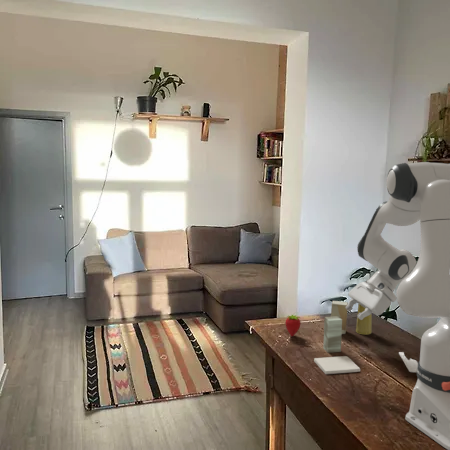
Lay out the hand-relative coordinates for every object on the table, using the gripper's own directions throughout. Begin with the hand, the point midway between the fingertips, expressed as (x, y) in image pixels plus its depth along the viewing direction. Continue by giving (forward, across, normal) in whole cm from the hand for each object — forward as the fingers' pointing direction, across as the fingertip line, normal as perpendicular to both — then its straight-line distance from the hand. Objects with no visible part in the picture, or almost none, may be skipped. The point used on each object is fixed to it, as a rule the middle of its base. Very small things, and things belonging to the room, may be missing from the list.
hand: (352, 314), depth 166 cm
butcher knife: (-1, +14, +20) cm, 25 cm away
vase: (+1, -15, +18) cm, 24 cm away
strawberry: (+22, -15, -3) cm, 27 cm away
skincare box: (+8, -17, +11) cm, 22 cm away
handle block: (+15, 0, +4) cm, 15 cm away
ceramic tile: (+17, +13, +1) cm, 22 cm away
